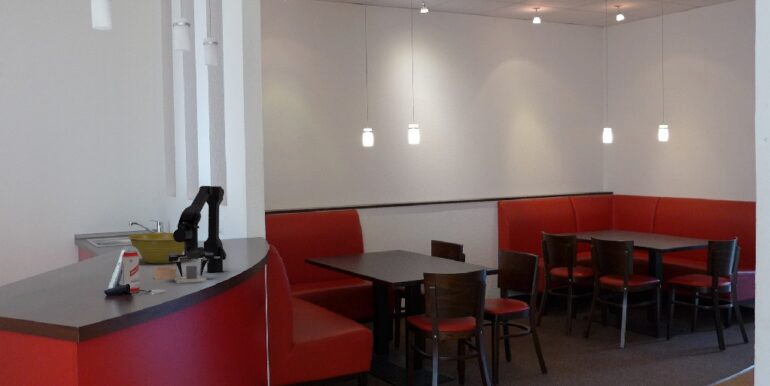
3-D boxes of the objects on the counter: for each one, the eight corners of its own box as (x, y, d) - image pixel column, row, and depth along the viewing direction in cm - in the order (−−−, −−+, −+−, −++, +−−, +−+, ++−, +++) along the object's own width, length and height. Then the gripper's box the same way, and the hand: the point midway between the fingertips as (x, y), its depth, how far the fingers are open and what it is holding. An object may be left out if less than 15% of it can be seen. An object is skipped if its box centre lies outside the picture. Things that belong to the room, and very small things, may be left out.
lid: (203, 277, 317) (203, 263, 317) (207, 281, 306) (207, 267, 306) (175, 278, 313) (175, 265, 313) (178, 283, 302) (178, 269, 301)
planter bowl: (207, 260, 374) (207, 234, 374) (157, 268, 347) (157, 240, 346) (165, 256, 391) (165, 231, 391) (114, 263, 364) (114, 236, 364)
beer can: (142, 291, 286) (142, 251, 285) (132, 294, 280) (131, 252, 279) (129, 290, 288) (129, 250, 287) (119, 293, 282) (118, 252, 281)
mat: (204, 278, 318) (204, 276, 318) (209, 282, 306) (209, 281, 306) (174, 279, 313) (174, 278, 313) (177, 284, 301) (177, 283, 301)
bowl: (174, 276, 322) (174, 266, 322) (176, 279, 313) (176, 269, 313) (153, 277, 319) (153, 267, 318) (154, 281, 310) (154, 270, 310)
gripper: (169, 242, 298) (170, 280, 299) (216, 241, 305) (216, 278, 305) (167, 240, 308) (168, 276, 309) (212, 238, 315) (212, 274, 316)
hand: (191, 276), depth 309 cm, fingers open, 8 cm apart
